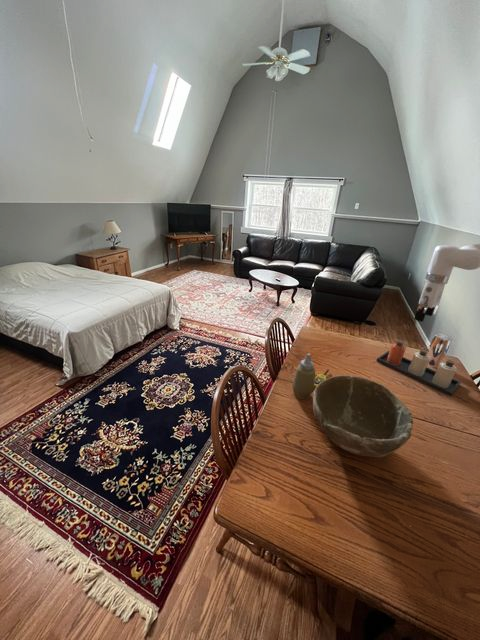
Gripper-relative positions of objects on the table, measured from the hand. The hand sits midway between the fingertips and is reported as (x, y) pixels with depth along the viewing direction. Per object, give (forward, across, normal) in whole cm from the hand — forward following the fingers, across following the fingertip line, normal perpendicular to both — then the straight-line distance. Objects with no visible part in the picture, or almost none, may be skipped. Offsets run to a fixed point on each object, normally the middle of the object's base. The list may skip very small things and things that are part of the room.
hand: (423, 317), depth 112 cm
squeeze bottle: (+24, -55, +16) cm, 62 cm away
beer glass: (+25, +11, -7) cm, 28 cm away
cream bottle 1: (+24, -3, -5) cm, 25 cm away
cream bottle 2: (+24, -3, -14) cm, 28 cm away
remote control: (+24, -41, +17) cm, 50 cm away
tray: (+25, -3, -5) cm, 25 cm away
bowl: (+24, -59, -7) cm, 64 cm away
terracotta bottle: (+24, -3, +5) cm, 24 cm away
